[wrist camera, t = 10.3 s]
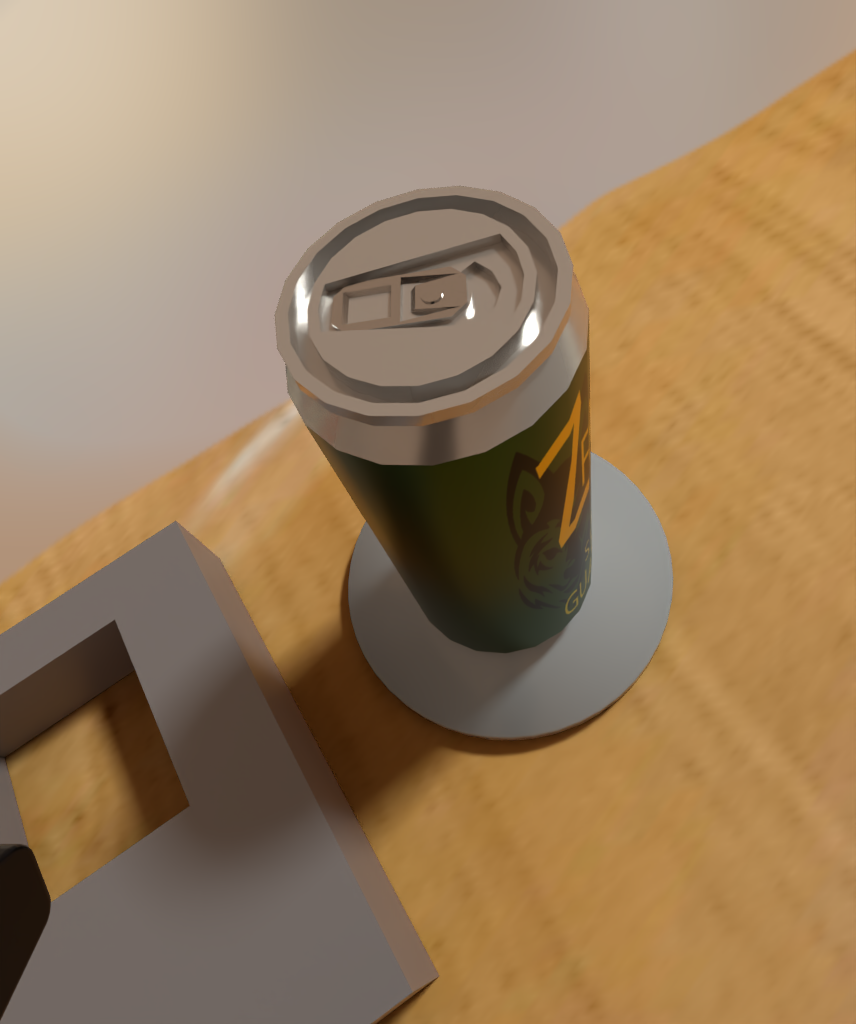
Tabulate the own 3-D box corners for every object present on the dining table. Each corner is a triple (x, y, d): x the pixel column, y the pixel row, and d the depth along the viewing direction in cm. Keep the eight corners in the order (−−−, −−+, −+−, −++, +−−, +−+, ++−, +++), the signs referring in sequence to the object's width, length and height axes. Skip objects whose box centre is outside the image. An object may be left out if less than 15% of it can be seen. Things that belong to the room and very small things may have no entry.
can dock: (439, 975, 18) (412, 992, 15) (20, 1292, 17) (-87, 1368, 14) (219, 558, 25) (175, 520, 22) (-85, 759, 24) (-169, 744, 21)
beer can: (418, 667, 21) (243, 451, 11) (417, 507, 23) (276, 208, 13) (603, 654, 20) (611, 404, 10) (582, 489, 22) (570, 151, 12)
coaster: (730, 679, 20) (734, 674, 19) (390, 784, 20) (385, 782, 20) (598, 406, 25) (598, 396, 24) (328, 497, 25) (323, 489, 25)
